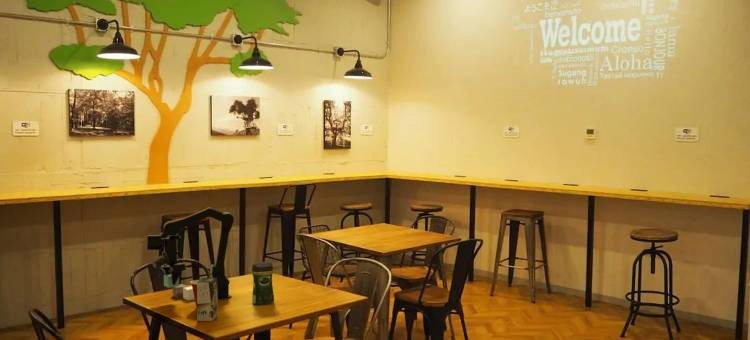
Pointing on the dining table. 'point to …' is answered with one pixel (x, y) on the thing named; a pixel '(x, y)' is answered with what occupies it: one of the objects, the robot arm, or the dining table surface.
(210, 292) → the coffee box
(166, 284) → the teal block
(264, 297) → the coffee jar
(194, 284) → the plastic cup
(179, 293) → the walnut block
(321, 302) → the dining table surface
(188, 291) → the cream block
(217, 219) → the robot arm
